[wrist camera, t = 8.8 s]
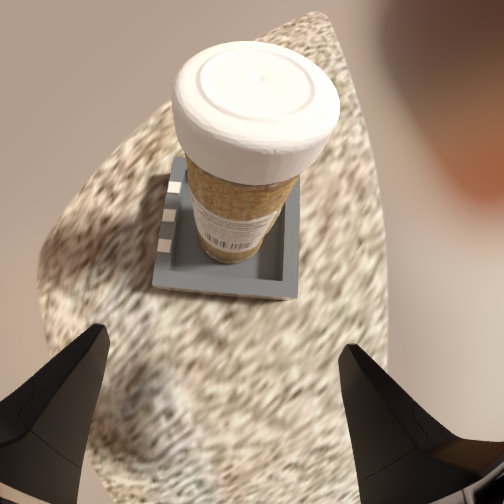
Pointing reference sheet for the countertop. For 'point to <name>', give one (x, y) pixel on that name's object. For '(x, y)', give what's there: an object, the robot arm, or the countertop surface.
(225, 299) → the countertop surface
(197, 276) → the dish
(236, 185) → the sprinkles bottle
